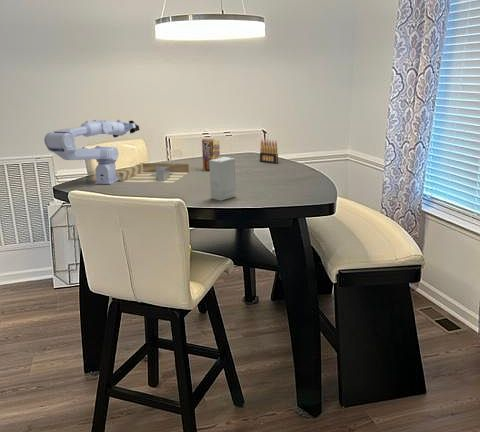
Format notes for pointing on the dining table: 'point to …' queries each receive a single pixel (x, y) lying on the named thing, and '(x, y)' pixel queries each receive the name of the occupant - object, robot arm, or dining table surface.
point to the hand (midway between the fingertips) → (131, 129)
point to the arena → (153, 172)
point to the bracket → (162, 173)
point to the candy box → (210, 152)
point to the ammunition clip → (269, 152)
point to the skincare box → (222, 178)
